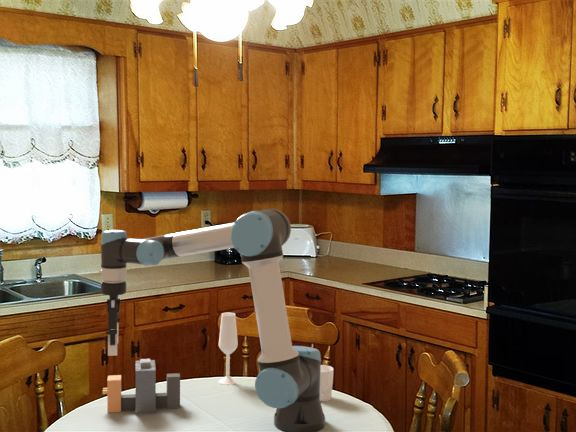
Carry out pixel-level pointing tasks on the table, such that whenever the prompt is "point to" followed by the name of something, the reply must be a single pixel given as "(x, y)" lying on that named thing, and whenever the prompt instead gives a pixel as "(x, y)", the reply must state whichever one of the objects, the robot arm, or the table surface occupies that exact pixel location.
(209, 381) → the table surface
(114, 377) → the grey orange-ended bar
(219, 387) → the table surface
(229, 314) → the champagne flute
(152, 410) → the grey u-shaped bracket
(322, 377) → the white cup
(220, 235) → the robot arm
